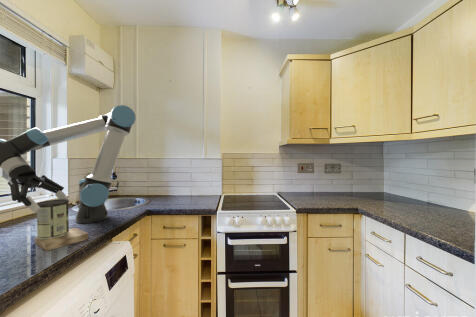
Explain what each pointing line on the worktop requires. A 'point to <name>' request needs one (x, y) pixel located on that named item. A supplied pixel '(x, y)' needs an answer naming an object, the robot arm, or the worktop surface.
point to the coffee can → (52, 219)
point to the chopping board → (62, 239)
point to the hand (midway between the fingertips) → (53, 206)
